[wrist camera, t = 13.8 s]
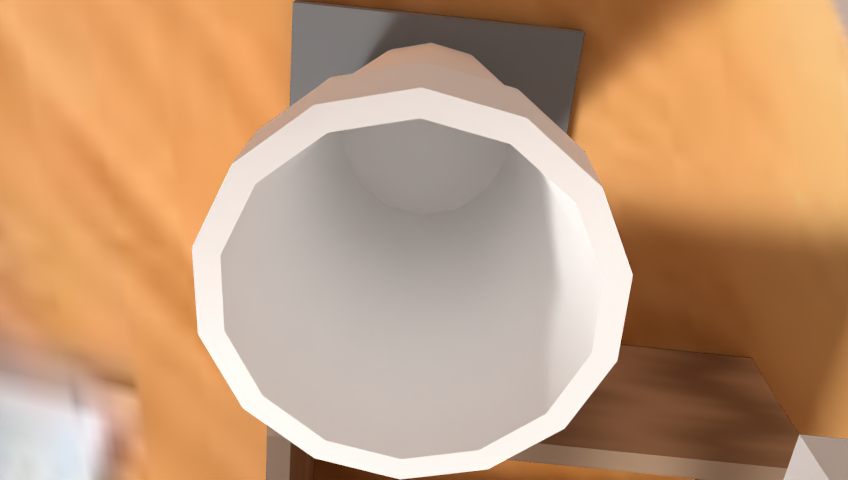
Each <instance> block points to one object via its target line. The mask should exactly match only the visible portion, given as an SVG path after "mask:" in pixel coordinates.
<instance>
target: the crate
mask: <svg viewBox="0 0 848 480" xmlns="http://www.w3.org/2000/svg"><path fill="white" fill-rule="evenodd" d="M798 437H799V434H798V432H797V430H796V429H795V427H794V426H793V424H792V422H791V421H790V419H789V417H788V416H787V414H786V413H785V411H784V409H783V408H782V406H781V405H780V403H779V401H778V400H777V398H776V397H775V395H774V393H773V392H772V390H771V388H770V387H769V385H768V384H767V382H766V380H765V379H764V377H763V376H762V374H761V372H760V371H759V369H758V368H757V366H756V364H755V363H754V361H753V359H752V358H746V357H736V356H726V355H716V354H706V353H697V352H687V351H677V350H667V349H657V348H648V347H638V346H628V345H620V349H619V355H618V360H617V362H616V363H615V364H614V366H613V367H612V368H611V370H610V371H609V372H608V374H607V375H606V376H605V377H604V379H603V380H602V381H601V383H600V384H599V385H598V386H597V388H596V389H595V390H594V392H593V393H592V394H591V395H590V397H589V398H588V399H587V401H586V402H585V403H584V404H583V406H582V407H581V408H580V410H579V411H578V412H577V413H576V415H575V416H574V417H573V419H572V420H571V421H570V422H569V424H568V425H567V426H566V428H565V429H563V430H561V431H559V432H557V433H555V434H554V435H552V436H550V437H548V438H546V439H544V440H542V441H540V442H538V443H537V444H535V445H533V446H531V447H529V448H527V449H525V450H523V451H522V452H520V453H518V454H516V455H514V456H512V457H510V458H508V459H507V460H514V461H524V462H534V463H544V464H554V465H564V466H574V467H584V468H594V469H604V470H614V471H624V472H634V473H644V474H654V475H664V476H674V477H684V478H694V479H695V480H784V477H785V474H786V471H787V468H788V465H789V463H790V460H791V457H792V454H793V451H794V448H795V446H796V443H797V440H798ZM314 464H315V458H313V457H312V456H310V455H309V454H307V453H306V452H305V451H303V450H302V449H300V448H299V447H298V446H296V445H295V444H293V443H292V442H290V441H289V440H288V439H286V438H285V437H283V436H282V435H280V434H279V433H278V432H276V431H275V430H273V429H272V428H270V427H269V426H268V425H267V462H266V480H314Z"/></svg>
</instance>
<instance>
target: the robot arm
mask: <svg viewBox="0 0 848 480" xmlns="http://www.w3.org/2000/svg"><path fill="white" fill-rule="evenodd" d="M784 480H848V439H844V438H833V437H822V436H811V435H800V434H799V437H798V440H797V443H796V446H795V448H794V451H793V454H792V457H791V460H790V463H789V465H788V468H787V471H786V474H785V477H784Z"/></svg>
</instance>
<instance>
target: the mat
mask: <svg viewBox="0 0 848 480" xmlns="http://www.w3.org/2000/svg"><path fill="white" fill-rule="evenodd" d="M583 39H584V32H583V31H582V30H574V29H565V28H556V27H546V26H537V25H527V24H518V23H509V22H499V21H490V20H480V19H471V18H462V17H452V16H443V15H433V14H424V13H415V12H405V11H396V10H387V9H377V8H368V7H358V6H349V5H340V4H330V3H321V2H311V1H302V0H295V1H294V2H293V19H292V52H291V84H290V106H292V105H293V104H294V103H296V102H297V101H298V100H300V99H301V98H303V97H304V96H305V95H307V94H308V93H309V92H311V91H312V90H314V89H315V88H316V87H318V86H319V85H320V84H322V83H323V82H325V81H326V80H327V79H329V78H330V77H335V76H341V75H347V74H353V73H354V72H356V71H357V70H359V69H361V68H362V67H364V66H365V65H367V64H368V63H370V62H371V61H373V60H375V59H376V58H378V57H379V56H381V55H382V54H384V53H385V52H387V51H389V50H391V49H396V48H402V47H408V46H414V45H420V44H426V43H434V44H438V45H441V46H444V47H448V48H451V49H455V50H458V51H461V52H465V53H468V54H471V55H472V56H473V57H475V58H476V59H477V60H478V61H479V62H480V63H481V64H482V65H483V66H484V67H485V68H486V69H488V70H489V71H490V72H491V73H492V74H493V75H494V76H495V77H496V78H497V79H498V80H499V81H501V82H502V83H503V84H504V85H506V86H510V87H513V88H517V89H518V90H519V91H521V92H522V93H523V94H524V95H525V96H526V97H527V98H528V99H529V100H530V101H531V102H532V103H534V104H535V105H536V106H537V107H538V108H539V109H540V110H541V111H542V112H543V113H544V114H545V115H546V116H548V117H549V118H550V119H551V120H552V121H553V122H554V123H555V124H556V125H557V126H558V127H559V128H561V129H562V130H563V131H564V132H565V133H566V134H567V129H568V123H569V118H570V112H571V106H572V101H573V95H574V90H575V84H576V78H577V73H578V67H579V61H580V56H581V50H582V45H583Z"/></svg>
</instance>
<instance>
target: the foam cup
mask: <svg viewBox="0 0 848 480" xmlns="http://www.w3.org/2000/svg"><path fill="white" fill-rule="evenodd" d="M192 255H193V269H194V284H195V298H196V312H197V327H198V335H199V337H200V338H201V340H202V342H203V343H204V345H205V347H206V348H207V350H208V352H209V353H210V355H211V357H212V358H213V360H214V361H215V363H216V365H217V366H218V368H219V370H220V371H221V373H222V375H223V376H224V378H225V380H226V381H227V383H228V385H229V386H230V388H231V390H232V391H233V393H234V395H235V396H236V398H237V399H238V401H239V403H240V404H241V406H242V408H243V409H245V410H246V411H248V412H249V413H250V414H252V415H253V416H255V417H256V418H258V419H259V420H260V421H262V422H263V423H265V424H266V425H268V426H269V427H270V428H272V429H273V430H275V431H276V432H278V433H279V434H280V435H282V436H283V437H285V438H286V439H288V440H289V441H290V442H292V443H293V444H295V445H296V446H298V447H299V448H300V449H302V450H303V451H305V452H306V453H307V454H309V455H310V456H312V457H313V458H315V459H319V460H323V461H327V462H331V463H335V464H339V465H344V466H348V467H352V468H356V469H360V470H364V471H368V472H372V473H376V474H380V475H384V476H388V477H392V478H396V479H409V478H417V477H426V476H435V475H443V474H452V473H461V472H469V471H478V470H487V469H490V468H492V467H493V466H495V465H497V464H499V463H501V462H503V461H505V460H507V459H508V458H510V457H512V456H514V455H516V454H518V453H520V452H522V451H523V450H525V449H527V448H529V447H531V446H533V445H535V444H537V443H538V442H540V441H542V440H544V439H546V438H548V437H550V436H552V435H554V434H555V433H557V432H559V431H561V430H563V429H565V428H566V426H567V425H568V424H569V422H570V421H571V420H572V419H573V417H574V416H575V415H576V413H577V412H578V411H579V410H580V408H581V407H582V406H583V404H584V403H585V402H586V401H587V399H588V398H589V397H590V395H591V394H592V393H593V392H594V390H595V389H596V388H597V386H598V385H599V384H600V383H601V381H602V380H603V379H604V377H605V376H606V375H607V374H608V372H609V371H610V370H611V368H612V367H613V366H614V364H615V363H616V362H617V360H618V355H619V349H620V344H621V338H622V333H623V327H624V322H625V316H626V311H627V305H628V300H629V294H630V288H631V283H632V277H633V274H632V271H631V268H630V265H629V262H628V259H627V257H626V254H625V251H624V248H623V245H622V242H621V239H620V236H619V234H618V231H617V228H616V225H615V222H614V219H613V216H612V213H611V210H610V208H609V205H608V202H607V199H606V196H605V193H604V190H603V187H602V185H601V183H600V181H599V179H598V177H597V175H596V173H595V171H594V169H593V167H592V165H591V163H590V161H589V159H588V157H587V155H586V153H585V151H584V150H583V149H582V148H581V147H580V146H579V145H578V144H577V143H576V142H575V141H573V140H572V139H571V138H570V137H569V136H568V135H567V134H566V133H565V132H564V131H563V130H562V129H561V128H559V127H558V126H557V125H556V124H555V123H554V122H553V121H552V120H551V119H550V118H549V117H548V116H546V115H545V114H544V113H543V112H542V111H541V110H540V109H539V108H538V107H537V106H536V105H535V104H534V103H532V102H531V101H530V100H529V99H528V98H527V97H526V96H525V95H524V94H523V93H522V92H521V91H519V90H518V89H517V88H513V87H510V86H506V85H504V84H503V83H502V82H501V81H499V80H498V79H497V78H496V77H495V76H494V75H493V74H492V73H491V72H490V71H489V70H488V69H486V68H485V67H484V66H483V65H482V64H481V63H480V62H479V61H478V60H477V59H476V58H475V57H473V56H472V55H471V54H468V53H465V52H461V51H458V50H455V49H451V48H448V47H444V46H441V45H438V44H434V43H426V44H420V45H414V46H408V47H402V48H396V49H391V50H389V51H387V52H385V53H384V54H382V55H381V56H379V57H378V58H376V59H375V60H373V61H371V62H370V63H368V64H367V65H365V66H364V67H362V68H361V69H359V70H357V71H356V72H354V73H353V74H347V75H341V76H335V77H330V78H329V79H327V80H326V81H325V82H323V83H322V84H320V85H319V86H318V87H316V88H315V89H314V90H312V91H311V92H309V93H308V94H307V95H305V96H304V97H303V98H301V99H300V100H298V101H297V102H296V103H294V104H293V105H292V106H290V107H289V108H287V109H286V110H285V111H283V112H282V113H281V114H279V115H278V116H276V117H275V118H274V119H272V120H271V121H270V122H268V123H267V124H265V125H264V126H263V127H261V128H260V129H259V130H257V131H256V133H255V134H254V135H253V137H252V138H251V139H250V141H249V142H248V143H247V145H246V146H245V147H244V149H243V150H242V151H241V152H240V154H239V155H238V156H237V158H236V159H235V160H234V162H233V163H232V164H231V167H230V169H229V171H228V173H227V175H226V177H225V179H224V181H223V183H222V185H221V188H220V190H219V192H218V194H217V196H216V198H215V200H214V202H213V204H212V206H211V209H210V211H209V213H208V215H207V217H206V219H205V221H204V223H203V225H202V228H201V230H200V232H199V234H198V236H197V238H196V240H195V242H194V244H193V246H192Z"/></svg>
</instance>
